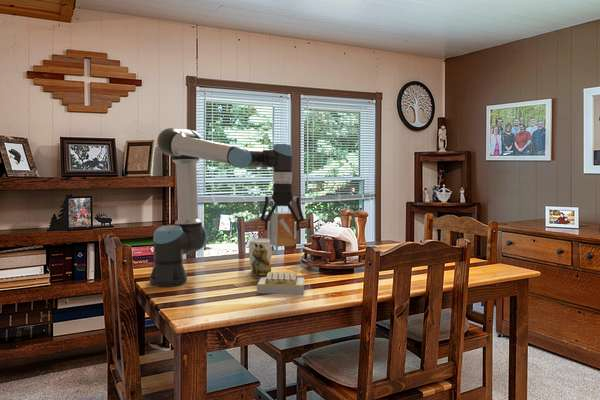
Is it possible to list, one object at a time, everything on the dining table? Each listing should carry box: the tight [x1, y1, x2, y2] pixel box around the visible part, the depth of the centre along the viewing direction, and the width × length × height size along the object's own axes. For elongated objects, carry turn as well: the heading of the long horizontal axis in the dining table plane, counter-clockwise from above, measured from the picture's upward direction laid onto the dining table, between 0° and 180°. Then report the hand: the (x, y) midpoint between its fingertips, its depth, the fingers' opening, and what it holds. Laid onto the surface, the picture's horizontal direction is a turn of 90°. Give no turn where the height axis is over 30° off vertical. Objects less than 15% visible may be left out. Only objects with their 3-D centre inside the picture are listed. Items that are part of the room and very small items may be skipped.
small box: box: [269, 211, 296, 248], centre depth 199 cm, size 8×6×13 cm
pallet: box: [265, 271, 298, 284], centre depth 201 cm, size 12×12×2 cm
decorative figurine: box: [251, 243, 272, 280], centre depth 222 cm, size 10×8×15 cm
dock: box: [256, 277, 305, 295], centre depth 201 cm, size 18×14×4 cm
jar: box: [248, 237, 273, 273], centre depth 232 cm, size 11×10×15 cm
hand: (281, 238), depth 200 cm, fingers closed on small box, 10 cm apart
